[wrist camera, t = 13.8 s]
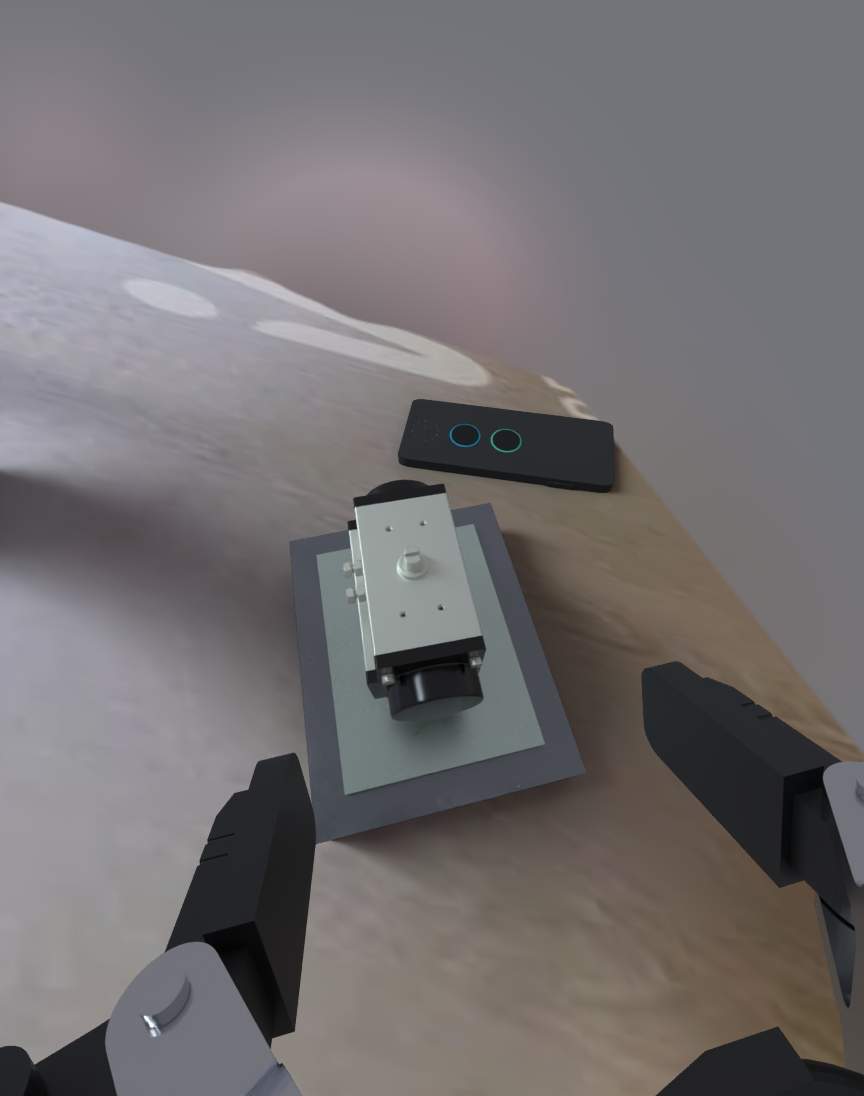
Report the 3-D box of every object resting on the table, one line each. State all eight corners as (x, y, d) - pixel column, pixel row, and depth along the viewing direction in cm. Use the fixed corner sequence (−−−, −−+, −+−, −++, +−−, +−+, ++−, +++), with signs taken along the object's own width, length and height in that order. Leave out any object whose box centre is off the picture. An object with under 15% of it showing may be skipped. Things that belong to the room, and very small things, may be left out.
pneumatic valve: (437, 560, 34) (438, 447, 23) (475, 726, 28) (498, 676, 18) (362, 572, 33) (329, 463, 23) (384, 745, 28) (354, 704, 17)
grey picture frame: (302, 565, 39) (287, 537, 35) (485, 529, 40) (491, 498, 36) (329, 840, 29) (312, 845, 25) (569, 777, 31) (589, 772, 27)
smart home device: (413, 395, 47) (613, 420, 45) (414, 408, 48) (607, 433, 47) (396, 457, 43) (615, 487, 41) (397, 469, 44) (608, 498, 43)
